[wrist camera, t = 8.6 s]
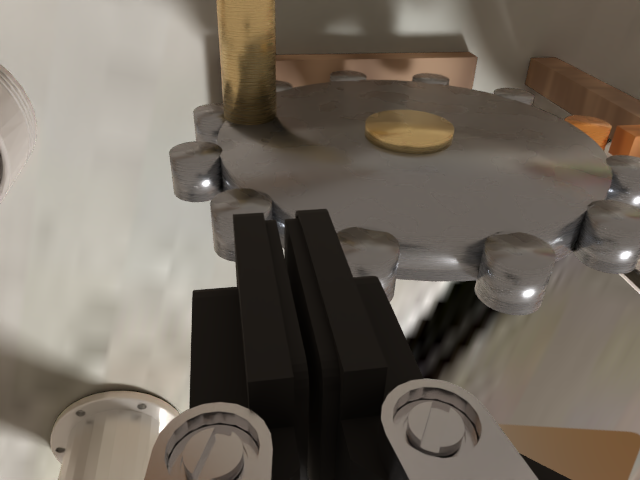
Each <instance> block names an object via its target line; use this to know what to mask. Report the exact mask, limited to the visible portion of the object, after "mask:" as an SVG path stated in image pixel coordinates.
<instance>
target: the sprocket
mask: <svg viewBox="0 0 640 480" xmlns="http://www.w3.org/2000/svg"><path fill="white" fill-rule="evenodd" d="M216 3H217V18H218V33H219V48H220V64H221V79H222V94H223V104H206V105H202V106H199V107H197V108H195V109H194V111H193V113H194V123H195V134H196V141H194V142H186V143H182V144H179V145H177V146H175V147H173V148H172V149H171V150H170V152H169V155H170V163H171V171H172V179H173V187H174V194H175V195H176V197H178V198H179V199H181V200H184V201H189V202H204V201H209V200H211V203H210V206H211V218H212V229H213V241H214V250H215V252H216V253H217V254H218V255H219V256H220V257H222V258H224V259H226V260H229V261H235V245H234V229H233V214H246V213H264V218H265V220H276V222H277V226H278V231H279V236H280V240H281V245H282V247H283V248H284V223H285V219H295V213H296V210H312V209H327V210H328V212H329V215H330V218H331V220H332V223H333V225H334V228H335V231H336V233H337V236H338V238H339V241H340V244H341V246H342V249H343V252H344V254H345V257H346V259H347V262H348V265H349V267H350V270H351V273H352V275H353V277H363V276H376V277H378V279H379V281H380V282H381V284H382V287H383V289H384V291H385V293H386V296H387V298H388V300H389V302H390V301H391V300H392V298H393V296H394V289H395V282H396V279H406V280H421V281H470V280H477V281H476V285H475V292H476V295H477V296H478V298H479V299H480V300H481V301H482V302H483V303H484V304H485V305H487V306H488V307H490V308H492V309H494V310H496V311H499V312H502V313H506V314H511V315H526V314H530V313H533V312H535V311H537V310H538V309H539V308H540V306H541V304H542V301H543V298H544V295H545V291H546V288H547V285H548V282H549V278H550V275H551V272H552V269H553V266H554V262H556V261H558V260H560V259H562V258H564V257H566V256H568V255H569V254H571V253H572V252H574V255H575V256H576V257H577V259H578V260H580V261H581V262H582V263H584V264H585V265H587V266H589V267H591V268H593V269H596V270H598V271H602V272H606V273H612V274H624V273H629V272H631V271H633V270H634V269H635V268H636V265H637V263H638V260H639V258H640V158H639V157H634V156H628V155H614V156H610V157H607V155H606V153H605V152H604V150H605V146H606V143H607V140H608V137H609V134H610V131H611V128H612V126H611V125H610V124H609V123H608V122H606V121H604V120H601V119H598V118H595V117H590V116H580V115H575V116H569V117H566V118H565V120H563V119H561V118H559V117H557V116H555V115H553V114H551V113H548V112H546V111H544V110H541V109H539V108H536V107H533V106H532V105H533V101H534V95H533V94H532V93H530V92H528V91H525V90H521V89H515V88H500V89H496V90H495V91H494V94H491V93H487V92H482V91H477V90H473V89H468V88H462V87H456V86H450V85H449V81H450V80H449V78H448V77H446V76H443V75H439V74H433V73H420V74H416V75H414V76H413V78H412V81H401V80H366V78H367V76H366V75H365V74H364V73H361V72H357V71H348V70H344V71H336V72H333V73H331V74H330V82H326V83H317V84H311V85H305V86H299V87H295V88H293V86H292V84H290V83H288V82H285V81H279V80H276V37H275V0H216ZM235 262H236V261H235Z"/></svg>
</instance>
